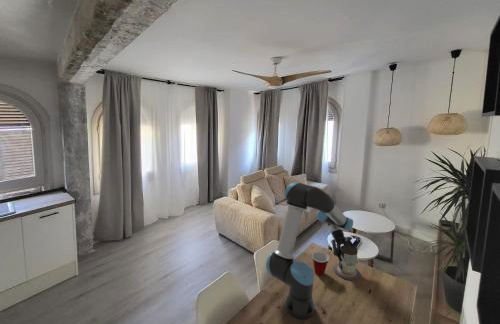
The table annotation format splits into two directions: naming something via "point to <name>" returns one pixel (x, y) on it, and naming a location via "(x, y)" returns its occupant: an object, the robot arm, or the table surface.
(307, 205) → the robot arm
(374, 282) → the table surface
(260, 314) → the table surface
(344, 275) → the round plate
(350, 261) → the coffee can
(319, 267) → the plastic cup
